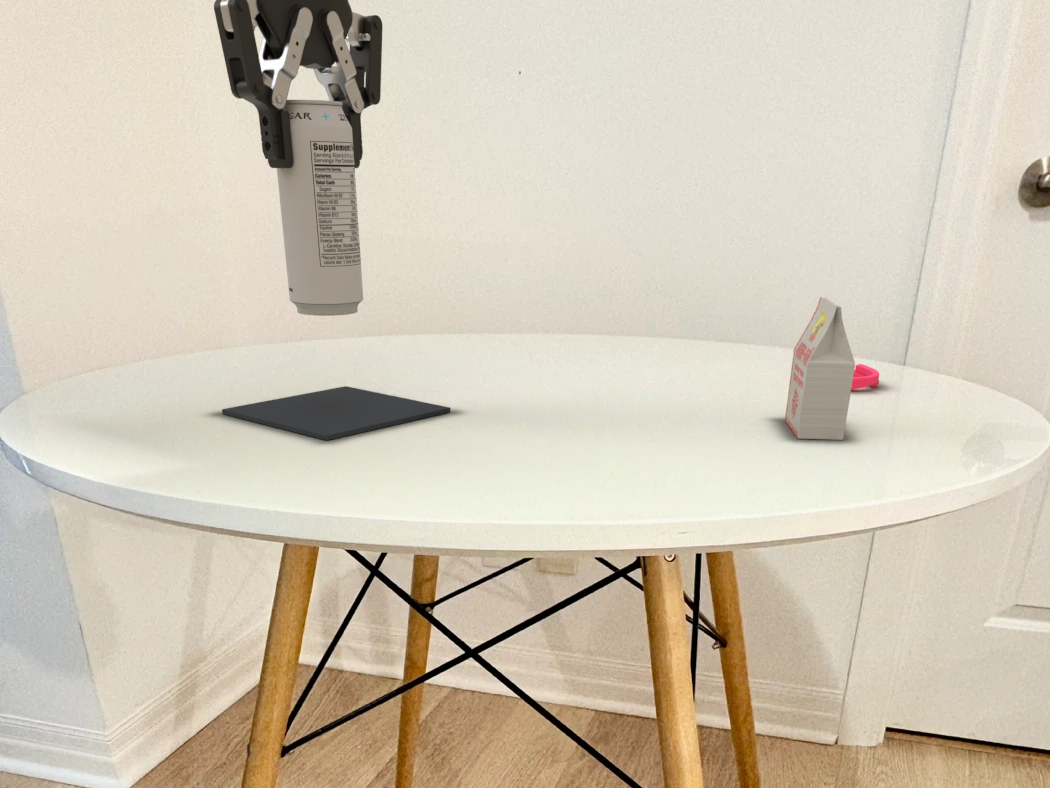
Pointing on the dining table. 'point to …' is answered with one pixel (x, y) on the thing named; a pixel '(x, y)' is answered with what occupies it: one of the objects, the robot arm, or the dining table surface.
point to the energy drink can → (321, 211)
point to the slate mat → (335, 412)
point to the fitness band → (865, 377)
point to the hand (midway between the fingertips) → (315, 167)
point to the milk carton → (821, 377)
